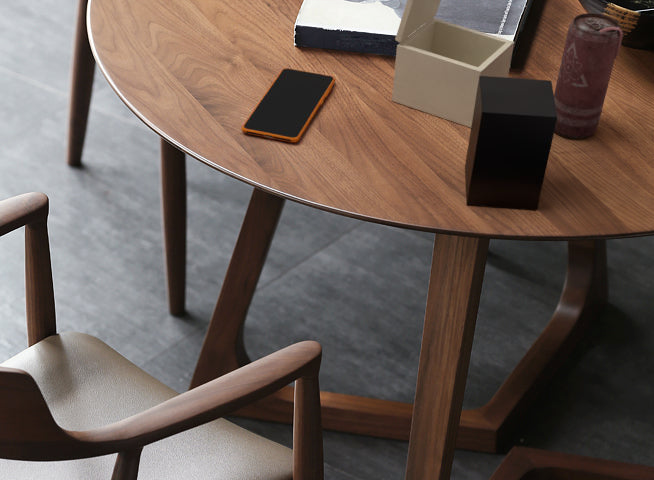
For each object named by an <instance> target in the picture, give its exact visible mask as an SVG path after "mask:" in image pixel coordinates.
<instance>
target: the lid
mask: <svg viewBox="0 0 654 480" xmlns="http://www.w3.org/2000/svg"><path fill="white" fill-rule="evenodd" d="M441 1H442V0H406V3H405V6H404V8H403V9H404V10H403V12H402V16H401V19H400V22H399V25H398V29H397V32H396V36H395V39H394V40H395V41H396V42H398V44H399V43H401V42H402V41H403V40H405V39H406V38H407V37H408V36H410V35H411V34H412V33H414V32H415V31H416V30H418V29H419V28H420V27H421V26H423V25H424V24H425V23H427V22H428V21H429V20H431V19H432V18H435V17H436V16H437V13H438V10H439V8H440V4H441Z"/></svg>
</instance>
